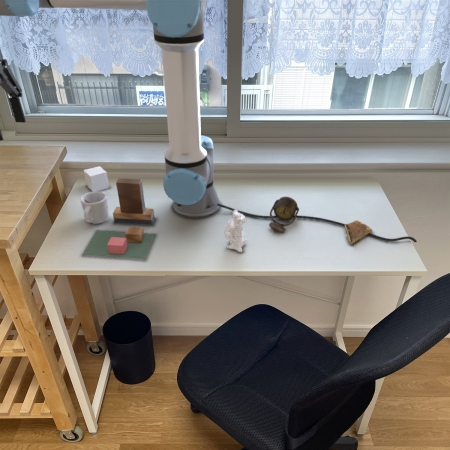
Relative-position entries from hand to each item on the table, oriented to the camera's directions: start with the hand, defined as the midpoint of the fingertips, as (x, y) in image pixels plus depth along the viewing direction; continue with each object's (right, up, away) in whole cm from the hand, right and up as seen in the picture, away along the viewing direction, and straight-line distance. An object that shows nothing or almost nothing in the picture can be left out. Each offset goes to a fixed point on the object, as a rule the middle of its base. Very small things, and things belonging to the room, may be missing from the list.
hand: (9, 130), depth 122 cm
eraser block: (+29, -33, +5) cm, 44 cm away
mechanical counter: (+77, -22, +18) cm, 82 cm away
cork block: (+33, -29, +9) cm, 45 cm away
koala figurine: (+63, -31, +7) cm, 71 cm away
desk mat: (+29, -31, +8) cm, 43 cm away
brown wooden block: (+31, -22, +18) cm, 42 cm away
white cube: (+14, -7, +35) cm, 39 cm away
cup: (+19, -23, +17) cm, 34 cm away
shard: (+101, -27, +12) cm, 105 cm away
